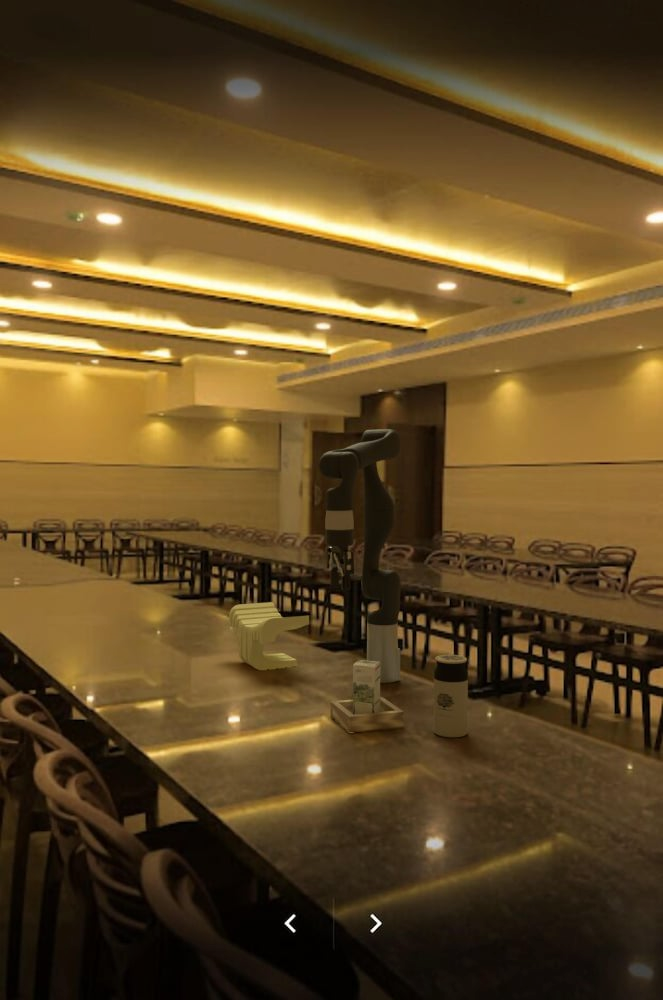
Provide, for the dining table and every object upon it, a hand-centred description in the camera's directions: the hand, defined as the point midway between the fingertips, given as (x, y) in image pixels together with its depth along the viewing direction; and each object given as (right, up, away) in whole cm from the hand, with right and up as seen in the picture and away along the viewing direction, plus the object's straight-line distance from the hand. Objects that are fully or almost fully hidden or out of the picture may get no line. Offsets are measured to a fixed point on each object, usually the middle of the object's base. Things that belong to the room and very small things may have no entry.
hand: (340, 588), depth 212 cm
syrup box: (+6, -32, -14) cm, 35 cm away
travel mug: (+26, -32, -22) cm, 47 cm away
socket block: (+6, -32, -14) cm, 35 cm away
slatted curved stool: (-23, -30, +48) cm, 61 cm away
